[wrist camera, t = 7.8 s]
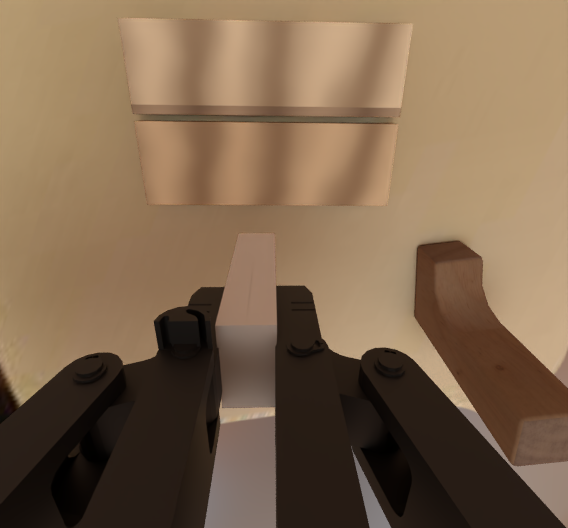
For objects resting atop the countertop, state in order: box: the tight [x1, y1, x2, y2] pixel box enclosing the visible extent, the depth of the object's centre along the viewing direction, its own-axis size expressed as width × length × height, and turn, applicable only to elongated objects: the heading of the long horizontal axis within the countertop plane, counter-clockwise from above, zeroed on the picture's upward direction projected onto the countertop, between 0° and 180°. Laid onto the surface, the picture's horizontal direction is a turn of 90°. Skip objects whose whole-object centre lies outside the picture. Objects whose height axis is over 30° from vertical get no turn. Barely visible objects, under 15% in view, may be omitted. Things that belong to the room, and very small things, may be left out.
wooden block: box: [415, 241, 568, 466], centre depth 29 cm, size 9×4×18 cm, turn 7°
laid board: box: [118, 18, 413, 117], centre depth 28 cm, size 22×6×2 cm, turn 89°
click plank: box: [134, 120, 398, 206], centre depth 31 cm, size 22×7×2 cm, turn 89°
